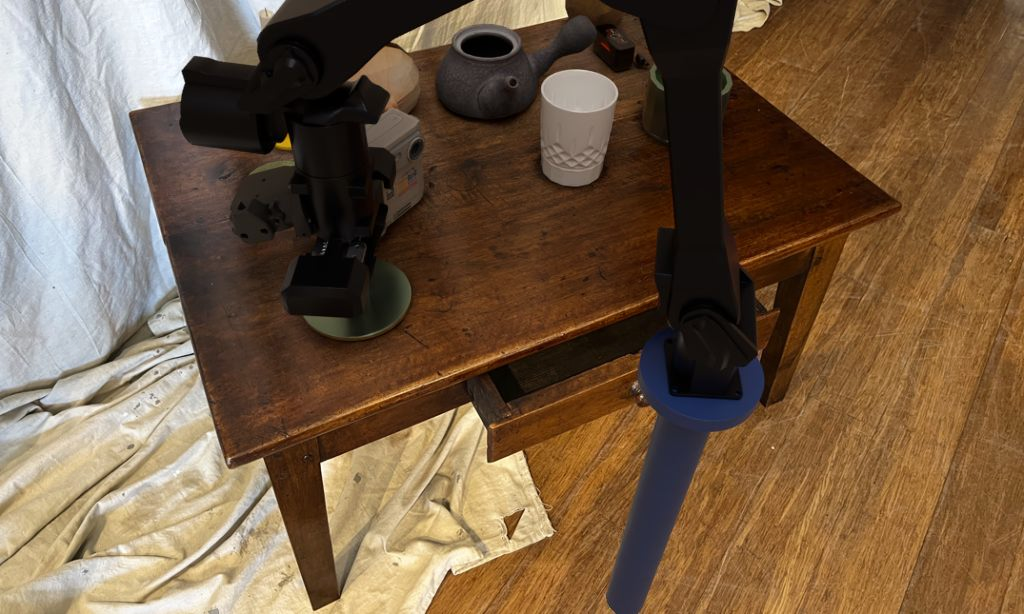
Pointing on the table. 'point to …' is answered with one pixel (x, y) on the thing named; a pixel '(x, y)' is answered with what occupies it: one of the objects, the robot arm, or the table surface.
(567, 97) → the white cup
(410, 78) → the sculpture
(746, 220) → the table surface
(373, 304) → the lid
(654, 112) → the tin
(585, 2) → the potato
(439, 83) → the teapot
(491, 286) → the table surface
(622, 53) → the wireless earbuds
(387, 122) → the camera
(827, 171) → the table surface
